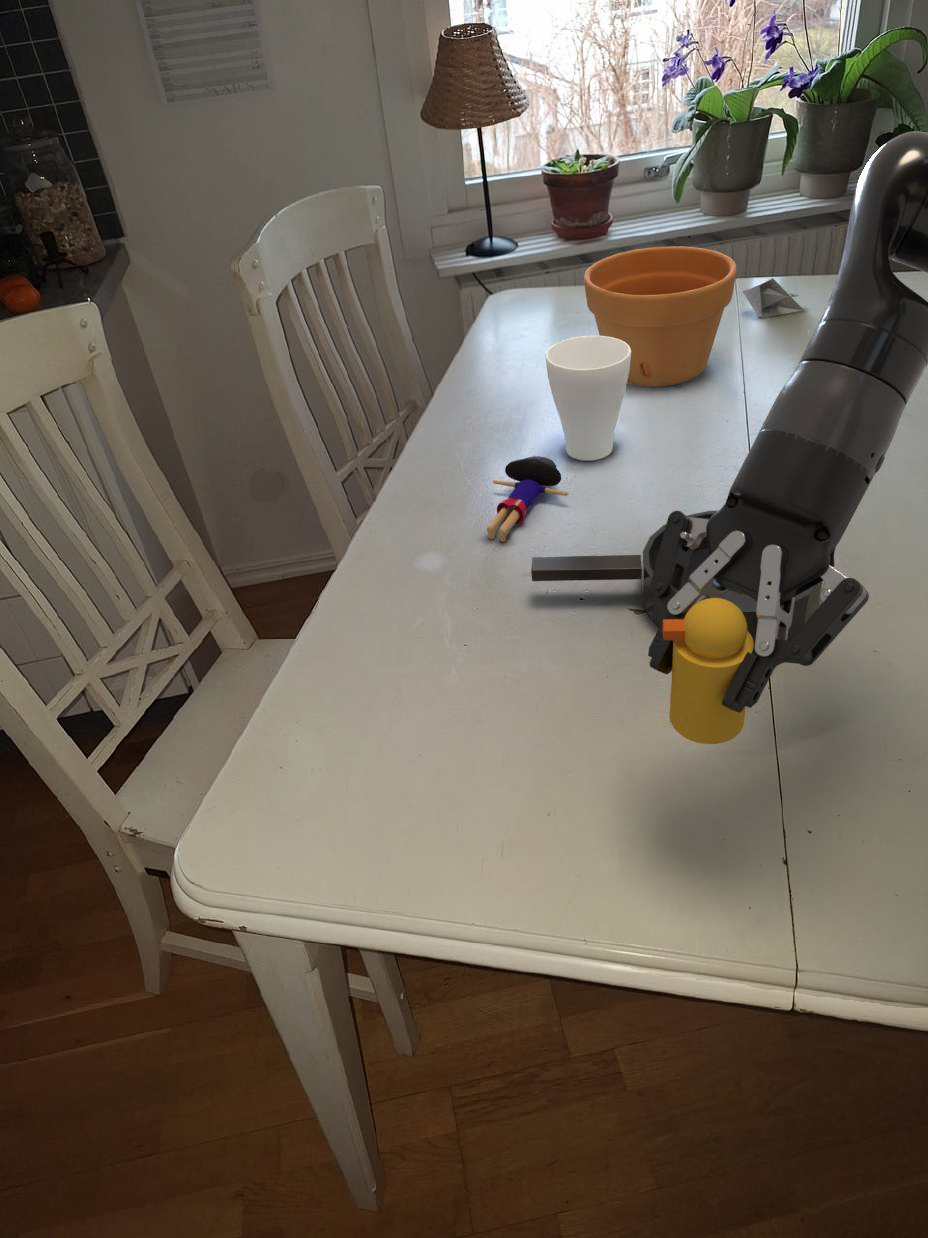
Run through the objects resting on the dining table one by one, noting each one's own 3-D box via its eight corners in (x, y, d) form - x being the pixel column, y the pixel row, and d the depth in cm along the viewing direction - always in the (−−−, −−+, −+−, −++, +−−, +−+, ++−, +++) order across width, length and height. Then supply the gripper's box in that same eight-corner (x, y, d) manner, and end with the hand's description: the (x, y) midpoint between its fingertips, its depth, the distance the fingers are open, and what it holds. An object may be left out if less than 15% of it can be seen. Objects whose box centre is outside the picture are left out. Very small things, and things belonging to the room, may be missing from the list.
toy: (536, 553, 101) (584, 483, 110) (534, 520, 98) (583, 451, 107) (458, 537, 105) (511, 471, 115) (453, 505, 102) (508, 440, 112)
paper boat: (778, 290, 151) (825, 287, 143) (768, 328, 152) (814, 327, 144) (733, 267, 144) (781, 262, 136) (723, 307, 145) (769, 304, 137)
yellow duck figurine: (739, 692, 63) (752, 579, 57) (748, 744, 59) (764, 629, 53) (657, 692, 64) (661, 581, 58) (661, 744, 60) (666, 630, 54)
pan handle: (640, 565, 91) (640, 554, 90) (641, 579, 89) (641, 568, 88) (533, 567, 92) (532, 556, 91) (531, 581, 91) (531, 570, 90)
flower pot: (571, 394, 131) (568, 293, 121) (601, 338, 146) (600, 245, 136) (719, 401, 124) (728, 295, 115) (734, 342, 139) (743, 244, 130)
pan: (800, 547, 96) (806, 507, 93) (833, 652, 83) (842, 610, 80) (638, 550, 98) (639, 512, 95) (646, 653, 85) (647, 612, 82)
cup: (536, 443, 120) (531, 347, 112) (606, 424, 122) (606, 328, 114) (571, 477, 112) (567, 377, 104) (644, 456, 114) (647, 356, 106)
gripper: (698, 400, 58) (582, 634, 59) (918, 464, 49) (775, 736, 51) (737, 442, 64) (630, 653, 65) (939, 505, 55) (811, 747, 56)
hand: (694, 688), depth 58 cm, fingers closed on yellow duck figurine, 5 cm apart
